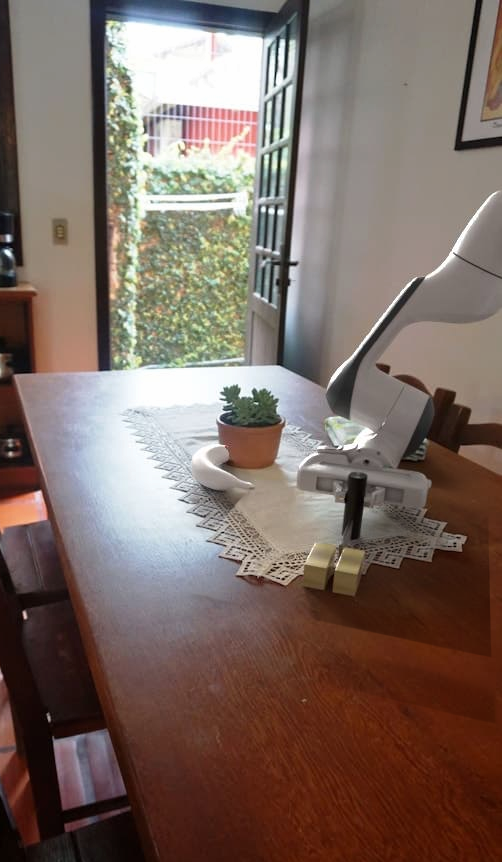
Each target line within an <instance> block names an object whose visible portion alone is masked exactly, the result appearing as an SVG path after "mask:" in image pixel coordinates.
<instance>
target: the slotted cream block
mask: <svg viewBox="0 0 502 862" xmlns="http://www.w3.org/2000/svg"><path fill="white" fill-rule="evenodd" d="M336 553H337V545H335V544H328V543H323V542H316V541H315V542H314V544H313V546H312V549H311V551H310V553H309V555H308V557H307V559H306V561H305V562H304V564H303V574H302V575H303V576H302V587H306V588H311V589H317V590H320V591H325V589H326V587H327V584H328V583H329V579H330V577H331V575H332V572H333V570H334V573H333V574H334V575H333V583H332V590H331V591H332V593H336V594H341V595H345V596H350V597H355V596H356V593H357V590H358V587H359V584H360V581H361V578H362V577H363V572H364V565H365V558H366V550H362V549H357V548H350V547H347V548H346V547H344V549H343V552H342V554H341V557H340V559H339V562H338V563H336V567H335V562H336ZM334 567H335V569H334Z"/></svg>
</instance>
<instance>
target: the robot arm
mask: <svg viewBox="0 0 502 862" xmlns="http://www.w3.org/2000/svg"><path fill="white" fill-rule="evenodd" d="M501 309H502V189H500V190H497V191H495V192H494V193H492V194H491V195H490V196H489V197H488V198H487V199H486V200H485V202H484V203H483V204H482V205H481V207H480V208H479V209H478V210H477V211H476V212H475V214H474V215H473V217H472V218H471V219H470V221H469V222H468V224H467V226H466V227H465V229H464V230H463V231H462V233H461V235H460V236H459V238H458V239H457V241H456V243H455V244H454V246H453V248H452V250H451V252H450V253H449V255H448V256H447V258H446V259H445V261H443V263H442V264H441V265H440V266H439V267H438V268H436V269H435V270H434V271H432V272H431V273H429V274H428V275H421V276H420V275H419V276H417V277H415V278H413V279H412V280H411V281H410V282H409V283H408V284H407V285H406V286H405V287H404V288H403V289H402V291H400V293H399V294H398V296H397V297H395V299H394V301H393V302H392V303H391V304H390V305H389V307H388V308H387V309H386V311H385V312H384V313H383V314H382V316H381V317H380V318H379V320H378V321H377V322H376V323H375V325H374V326H373V327H372V328H371V330H370V332H369V333H368V334H367V335H366V337H364V340H363V341H362V342H361V343H360V344H359V346H358V348H356V350H355V352H354V353H353V354H352V355H351V356H350V357H349V358H348V359H347V360H346V361H345V362H343V364H342V365H341V366H340V367H339V368H338V369H337V370H336V371H335V372H334V374H333V375H332V376H331V378H330V380H329V382H328V384H327V387H326V392H325V399H326V402H327V404H328V406H329V409H330V411H331V412H332V414H333V415H336V416H337V417H343V418H345V419H348V420H350V421H351V420H352V421H354V422H356V423H357V424H359V425H361V426H363V427H365V428H366V429H365V430H364V431H362V432H361V433H360V434H359V435H358V437H357V438H356V439H355V440H354V442H353V443H352V444H348V445H336V446H334V445H320V446H319V445H318V447H317V448H316V453H313V454H310V455H309V456H307V457H306V458H305V459H304V460H303V461H302V462H301V463H300V465H299V466H298V468H297V473H296V488H297V489H298V490H300V491H303V492H311V493H316V494H321V495H322V494H323V495H328V496H333V497H334V502H335V503H338V504H344V505H345V500H346V490H347V481H348V474H349V473H350V472H362V473H365V474H367V476H368V477H367V485H366V493H365V496H364V503H363V507H364V508H369V509H374V506H375V505H379V504H383V505H384V504H386V505H391V506H398V507H403V508H411V509H417V510H419V509H423V508H424V507H426V503H427V499H428V491H430V490H431V488H432V484H433V483H432V480H431V479H428V478H427V476H426V475H425V474H424V473H422V472H420V471H414V470H407V469H400V468H398V467H399V465H400V463H401V460H404V459H403V458H406V457H409V456H411V455H412V454H414V453H415V452H416V451H417V450H418V448H419V447H420V446H421V444H422V443H423V441H424V439H427V436H428V434H429V431H430V429H431V427H432V424H433V421H434V417H435V405H434V401H433V398H432V397H431V395H429V394H427V393H426V392H424V391H423V390H420V389H418V388H416V387H414V386H413V385H411V384H408V383H406V382H404V381H401V380H400V379H397V378H396V377H394V376H392V375H390V374H388V373H386V372H384V371H382V370H380V369H379V368H378V366H377V362H378V360H379V359H380V358H381V357H382V355H383V354H384V353H385V352H386V350H387V349H388V348H389V347H390V345H391V344H392V343H393V341H394V340H395V339H396V338H397V337H398V335H399V334H400V333H401V332H402V330H404V329H405V328H406V327H408V326H410V325H412V324H416V323H423V322H432V323H434V322H435V323H442V324H443V323H444V324H453V325H454V324H457V325H464V324H475V323H480V322H482V321H485V320H487V319H489V318H491V317H493V316H494V315H496V314H497V313H499V311H500V310H501Z"/></svg>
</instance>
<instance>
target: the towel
mask: <svg viewBox="0 0 502 862" xmlns="http://www.w3.org/2000/svg"><path fill="white" fill-rule="evenodd" d="M365 429H366V428H365V427H363V426H361V425H359V424H357V423H356V422H354V421H352V420H351V421H350V420H348V419H345V418H343V417H340V416H331V417H327V418H325V420H324V430H325V432H326V433H327V434H328V437H329V439H330V441H331V442H332V444H333V446H336V445H348V444H352V443H353V442H354V440H355V439H356V438H357V437H358V435H359V434H360V433H361V432H362V431H364V430H365ZM429 445H430V443H429V440H428V439H427V438H425V439H424V441H423V443H422V444H421V446H420V447H419V448H418V450H417V451H416V452H415V453H414V454H412V455H411V456H409V457H406V458H403V459H402V460H410V461H414V462H417V461H423V460H425V459H426V458H425V457H426V452H427V447H426V446H429Z"/></svg>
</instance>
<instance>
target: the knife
mask: <svg viewBox="0 0 502 862" xmlns="http://www.w3.org/2000/svg"><path fill="white" fill-rule="evenodd" d="M367 477H368V476H367V474H365V473H362V472H350V473H349V474H348V481H347V490H346V500H345V504H344V508H343V509H344V510H343V517H342V526H341V539H340V540H339V544H338V550H337V551H338V552H337V561H336V564H338V562H339V559H340V557H341V554H342V552H343V549H344V547H346V548H349V544H350V541H351V540H355V541H356V540H359V539H360V538H361V532H362V526H363V525H362V523H363V516H364V509H365V507H363V503H364V496H365V493H366V485H367Z"/></svg>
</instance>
